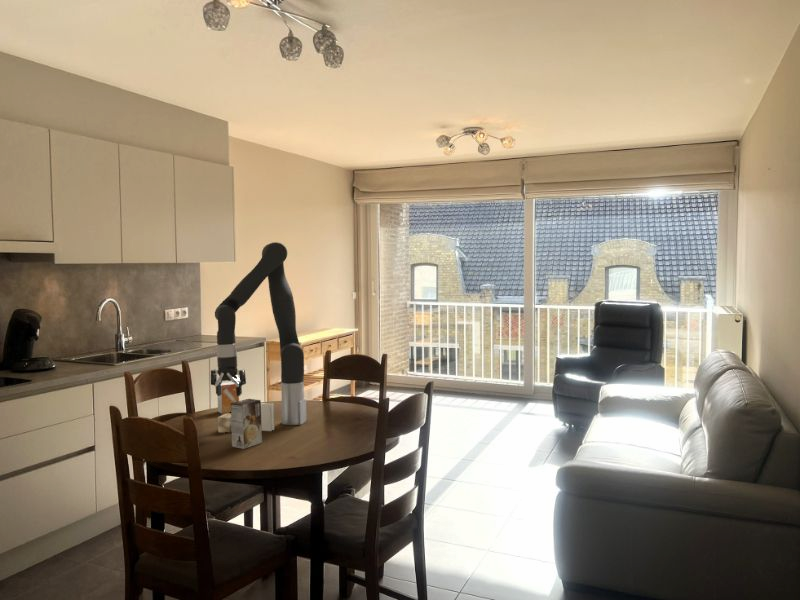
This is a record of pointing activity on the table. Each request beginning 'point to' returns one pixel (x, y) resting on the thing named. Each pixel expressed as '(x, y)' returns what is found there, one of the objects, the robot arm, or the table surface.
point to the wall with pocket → (267, 416)
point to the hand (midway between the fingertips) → (228, 395)
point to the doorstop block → (224, 423)
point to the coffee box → (246, 423)
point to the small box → (227, 397)
